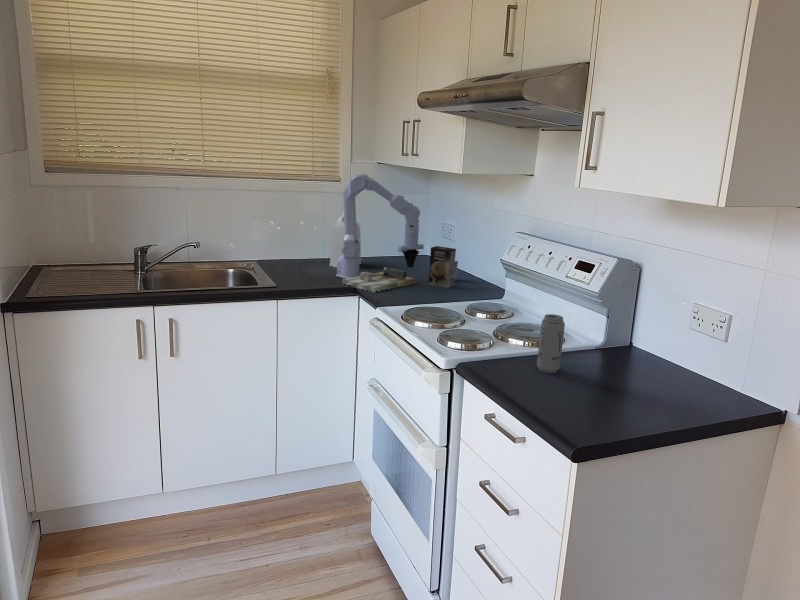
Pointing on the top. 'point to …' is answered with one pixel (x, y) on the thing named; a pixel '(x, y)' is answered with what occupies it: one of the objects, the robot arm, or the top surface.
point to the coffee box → (442, 266)
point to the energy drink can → (550, 343)
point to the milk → (340, 241)
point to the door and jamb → (377, 281)
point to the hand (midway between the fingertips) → (410, 267)
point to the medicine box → (455, 271)
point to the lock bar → (394, 272)
